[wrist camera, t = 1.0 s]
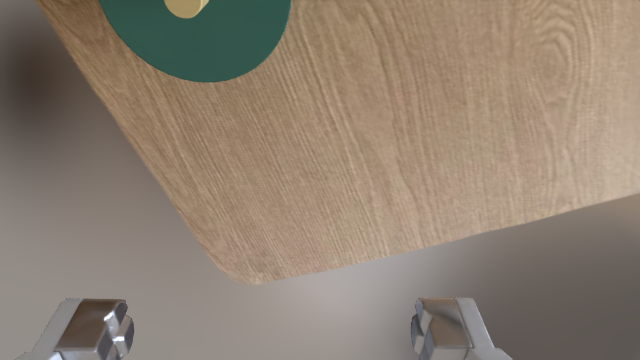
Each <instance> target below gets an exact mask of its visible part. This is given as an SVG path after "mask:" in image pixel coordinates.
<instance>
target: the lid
mask: <svg viewBox="0 0 640 360" xmlns="http://www.w3.org/2000/svg"><path fill="white" fill-rule="evenodd" d="M99 2H100V4H101V7H102V9H103V11H104V13H105V15H106V17H107V19H108V21H109V22H110V24H111V25H112V27H113V28H114V30H115V31H116V33H117V34H118V35H119V37H120V38H121V39H122V40H123V41H124V43H125V44H126V45H127V46H128V47H129V48H130V49H131V50H132V51H133V52H134V53H136V54H137V55H138V56H139V57H140V58H142V59H143V60H144V61H146V62H147V63H149V64H150V65H152V66H153V67H155V68H157V69H158V70H160V71H163V72H165V73H167V74H169V75H172V76H175V77H177V78H180V79H185V80H189V81H195V82H220V81H226V80H230V79H233V78H237V77H239V76H241V75H244V74H246V73H248V72H249V71H251V70H253V69H254V68H256V67H257V66H258V65H259V64H261V63H262V62H263V61H264V60H265V59H266V58H267V57H268V56H269V55H270V54H271V53H272V52H273V50H274V49H275V47H276V46H277V44H278V43H279V41H280V39H281V37H282V35H283V33H284V31H285V28H286V25H287V22H288V18H289V13H290V9H291V0H99Z"/></svg>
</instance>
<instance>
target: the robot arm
mask: <svg viewBox="0 0 640 360" xmlns="http://www.w3.org/2000/svg"><path fill="white" fill-rule="evenodd" d="M415 308H416V311H417V314H416V315H414V316H413V317H412V322H411V338H412V344H413V349H414V351H415V352H416V353H417V354H418V355H419V356H420V357H419V360H513V359H512V358H510V357H509V356H508V355H507V354H506V353H505V352H503V351H502V350H501V349H500V348H494V346H493V344H492V342H491V339H490V337H489V334H488V332H487V329H486V327H485V325H484V323H483V320H482V318H481V315H480V313H479V311H478V308H477V306H476V304H475V301H474V300H473V299H472V298H452V297H449V298H448V297H447V298H446V297H445V298H418V300H417V301H416V305H415ZM127 309H128V306H127V304H126V301H125V300H122V299H65V300H64V301H63V302H61V303H60V305H59V307H58V308H57V310H56V311H55V313H54V315H53V316H52V318H51V320H50V321H49V323H48V325H47V326H46V328H45V330H44V331H43V333H42V335H41V336H40V338H39V340H38V341H37V343H36V344H35V346H34V348H33V349H32V351H31V352H25V353H24V354H22V355H21V356H19V357H18V358H17V359H15V360H121V359H122V358H123V357H124V356H126V355H127V354H128V353H129V350H130V348H131V345H132V342H133V335H134V326H133V325H134V324H133V321H132V318H130V317H129V316H128V315H126V311H127Z"/></svg>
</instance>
